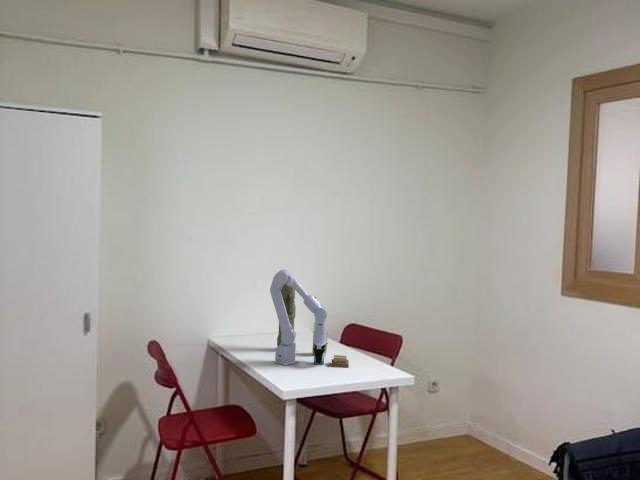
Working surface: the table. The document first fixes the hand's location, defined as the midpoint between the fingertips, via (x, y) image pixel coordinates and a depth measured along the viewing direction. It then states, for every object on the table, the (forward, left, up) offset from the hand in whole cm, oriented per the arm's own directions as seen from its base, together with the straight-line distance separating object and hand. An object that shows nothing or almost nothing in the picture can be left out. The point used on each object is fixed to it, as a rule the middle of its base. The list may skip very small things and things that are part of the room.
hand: (319, 361), depth 270 cm
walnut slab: (+6, -8, -2) cm, 10 cm away
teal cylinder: (0, 0, -2) cm, 2 cm away
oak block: (+6, -8, 0) cm, 10 cm away
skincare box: (+15, +12, -2) cm, 19 cm away
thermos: (+9, +30, -2) cm, 31 cm away
